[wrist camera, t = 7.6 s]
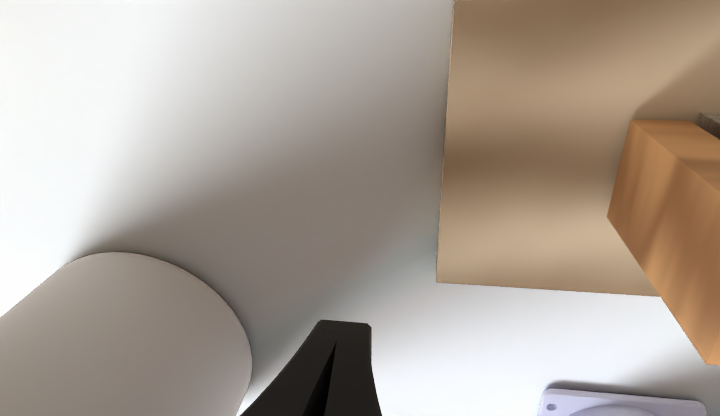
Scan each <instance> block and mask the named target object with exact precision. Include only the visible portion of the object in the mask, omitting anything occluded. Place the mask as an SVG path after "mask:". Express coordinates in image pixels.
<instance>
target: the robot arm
mask: <svg viewBox="0 0 720 416" xmlns="http://www.w3.org/2000/svg"><path fill="white" fill-rule="evenodd" d="M549 404H551V405H549ZM706 414H707V410H706V408H705V407H704V405H703V404H702V403H701V402H698V401H691V400H679V399H668V398H657V397H645V396H634V395H623V394H611V393H600V392H588V391H577V390H566V389H554V388H551V389H547V390H545V391H544V392H543V393H542V397H541V401H540V406H539V411H538V415H537V416H706ZM240 416H382V414H381V410H380V406H379V402H378V398H377V394H376V389H375V383H374V378H373V373H372V366H371V327H370V326H369V325H368V324H367V323H356V322H344V321H332V320H320V321H319V322H317V324H316V325H315V327H314V328H313V330H312V331H311V333H310V334H309V336H308V337H307V339H306V340H305V341H304V343H303V344H302V345H301V347H300V348H299V349H298V351H297V352H296V353H295V355H294V356H293V357H292V358H291V360H290V361H289V362H288V363H287V365H286V366H285V367H284V368H283V370H282V371H281V372H280V373H279V374H278V376H277V377H276V378H275V379H274V380H273V381H272V383H271V384H270V385H269V386H268V387H267V388H266V389H265V390H264V391H263V392H262V393H261V395H260V396H259V397H258V398H257V399H256V400H255V401H254V402H253V403H252V404H251V405H250V406H249V407H248V408H247V409H246V410H245V411H244V412H243V413H242V414H241V415H240Z"/></svg>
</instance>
